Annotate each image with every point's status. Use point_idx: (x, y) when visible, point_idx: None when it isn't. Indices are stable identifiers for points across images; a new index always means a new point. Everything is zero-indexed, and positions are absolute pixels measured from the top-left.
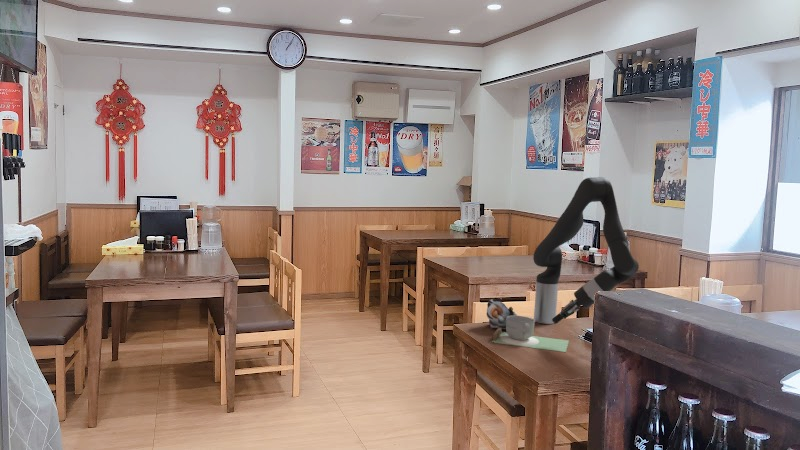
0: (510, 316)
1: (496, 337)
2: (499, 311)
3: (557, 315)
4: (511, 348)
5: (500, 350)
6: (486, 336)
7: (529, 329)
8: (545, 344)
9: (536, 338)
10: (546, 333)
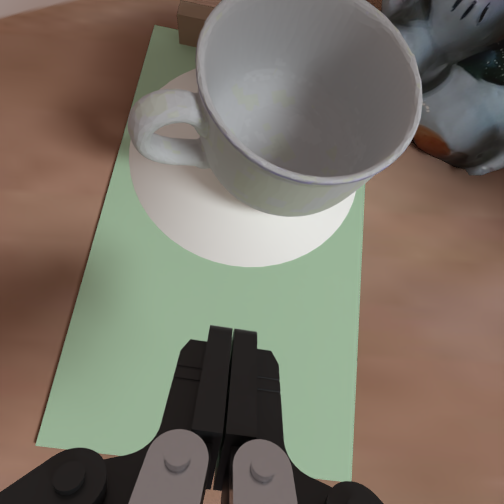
0: (367, 14)
1: (188, 31)
2: None
3: (197, 396)
4: (61, 109)
5: (7, 54)
6: None
7: (138, 147)
8: (190, 305)
9: (314, 255)
10: (471, 326)
